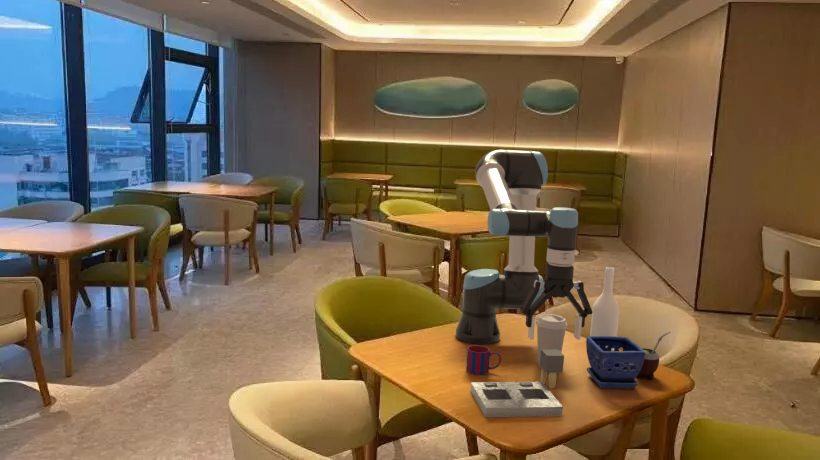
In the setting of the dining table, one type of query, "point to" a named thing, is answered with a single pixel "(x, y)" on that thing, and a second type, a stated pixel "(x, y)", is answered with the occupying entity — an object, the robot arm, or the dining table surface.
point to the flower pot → (614, 361)
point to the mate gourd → (650, 361)
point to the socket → (515, 399)
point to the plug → (551, 365)
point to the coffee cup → (550, 332)
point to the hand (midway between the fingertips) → (554, 338)
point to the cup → (479, 359)
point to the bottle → (605, 310)
